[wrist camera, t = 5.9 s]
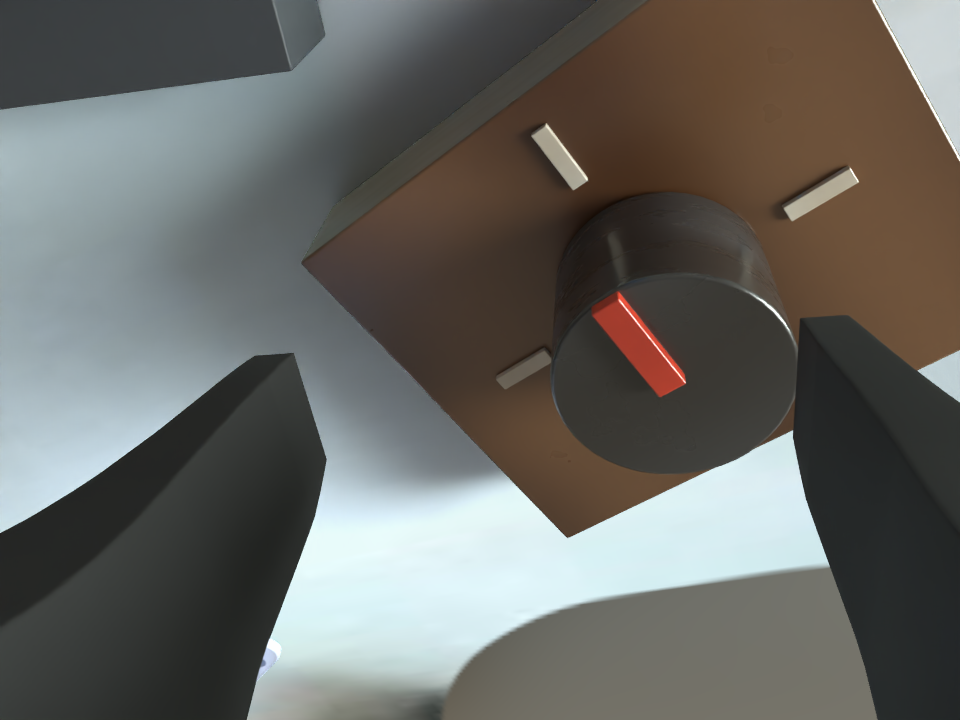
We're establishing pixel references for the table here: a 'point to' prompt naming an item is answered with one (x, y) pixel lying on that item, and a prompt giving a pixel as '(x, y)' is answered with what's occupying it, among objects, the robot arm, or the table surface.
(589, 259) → the dial
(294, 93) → the table surface
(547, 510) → the dial panel
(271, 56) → the push button base
